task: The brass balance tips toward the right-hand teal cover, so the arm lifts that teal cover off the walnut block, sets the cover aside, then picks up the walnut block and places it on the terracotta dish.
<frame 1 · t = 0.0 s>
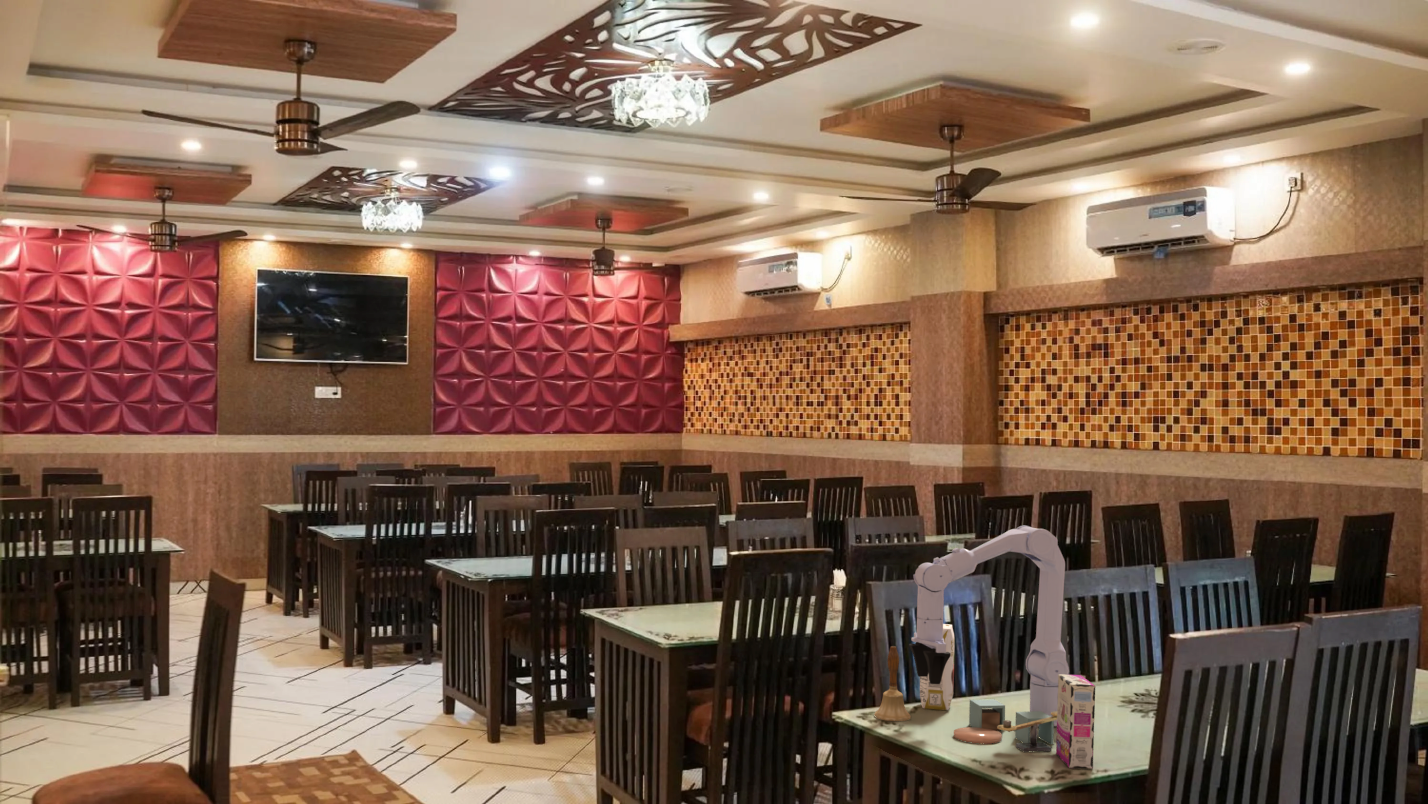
hand: (928, 679, 276), 10 cm above the table, tool pointing down, fingers open, 7 cm apart
teal cover A: (986, 727, 275), on the table
hand bell: (892, 717, 284), on the table
terracotta dish: (977, 737, 266), on the table
teal cover B: (1034, 741, 264), on the table
walnut block: (987, 729, 274), on the table
candy bar box: (1074, 762, 249), on the table
balance: (1033, 748, 258), on the table
juice carton: (936, 707, 295), on the table
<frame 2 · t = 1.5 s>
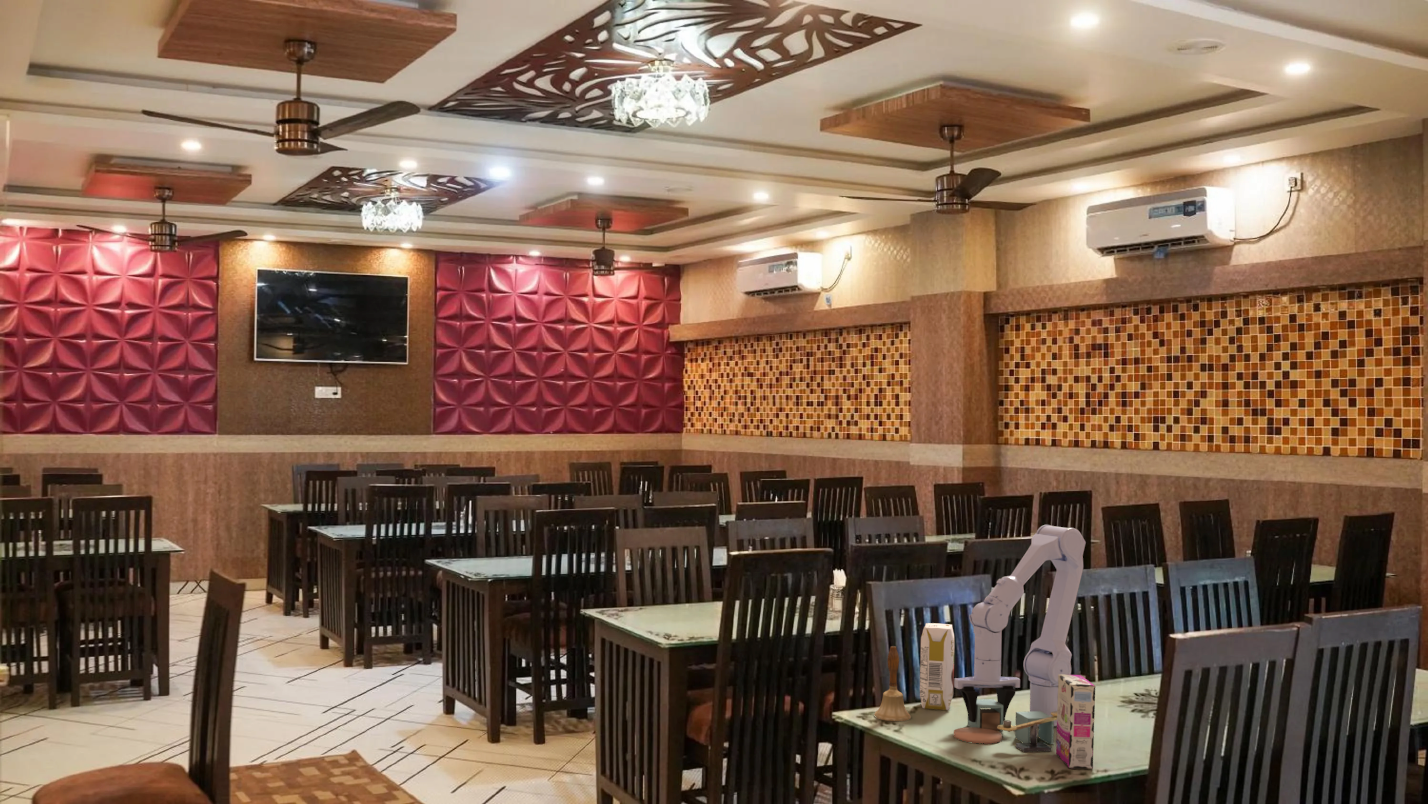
hand: (986, 720, 274), 2 cm above the table, tool pointing down, fingers closed on teal cover A, 6 cm apart
teal cover A: (985, 727, 275), on the table, touching gripper
everything else where it was.
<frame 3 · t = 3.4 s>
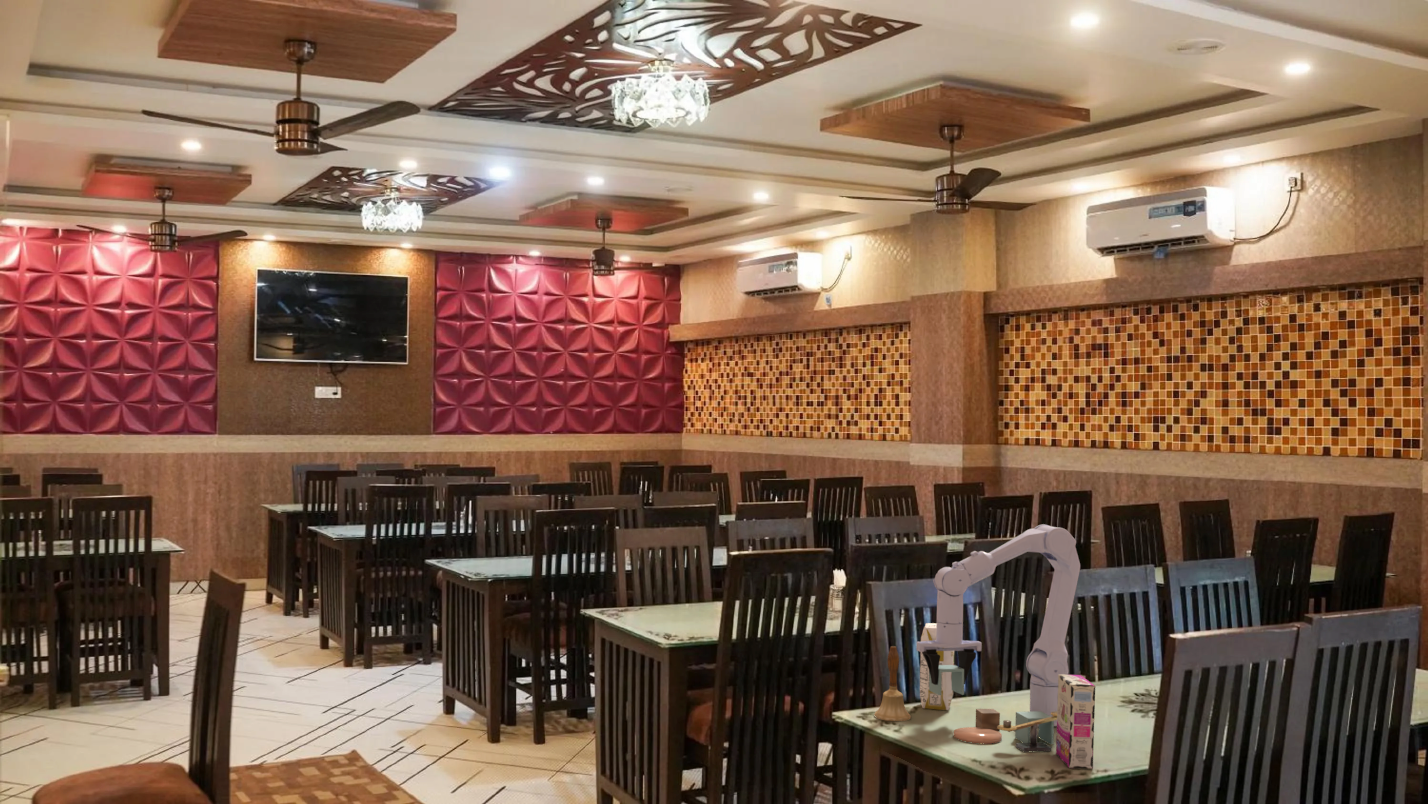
hand: (948, 683, 278), 9 cm above the table, tool pointing down, fingers closed on teal cover A, 6 cm apart
teal cover A: (946, 692, 279), point 7 cm above the table, touching gripper
everything else where it was.
when the fingers open (3 cm above the table, at t = 4.8 s): teal cover A drops 1 cm, on the table.
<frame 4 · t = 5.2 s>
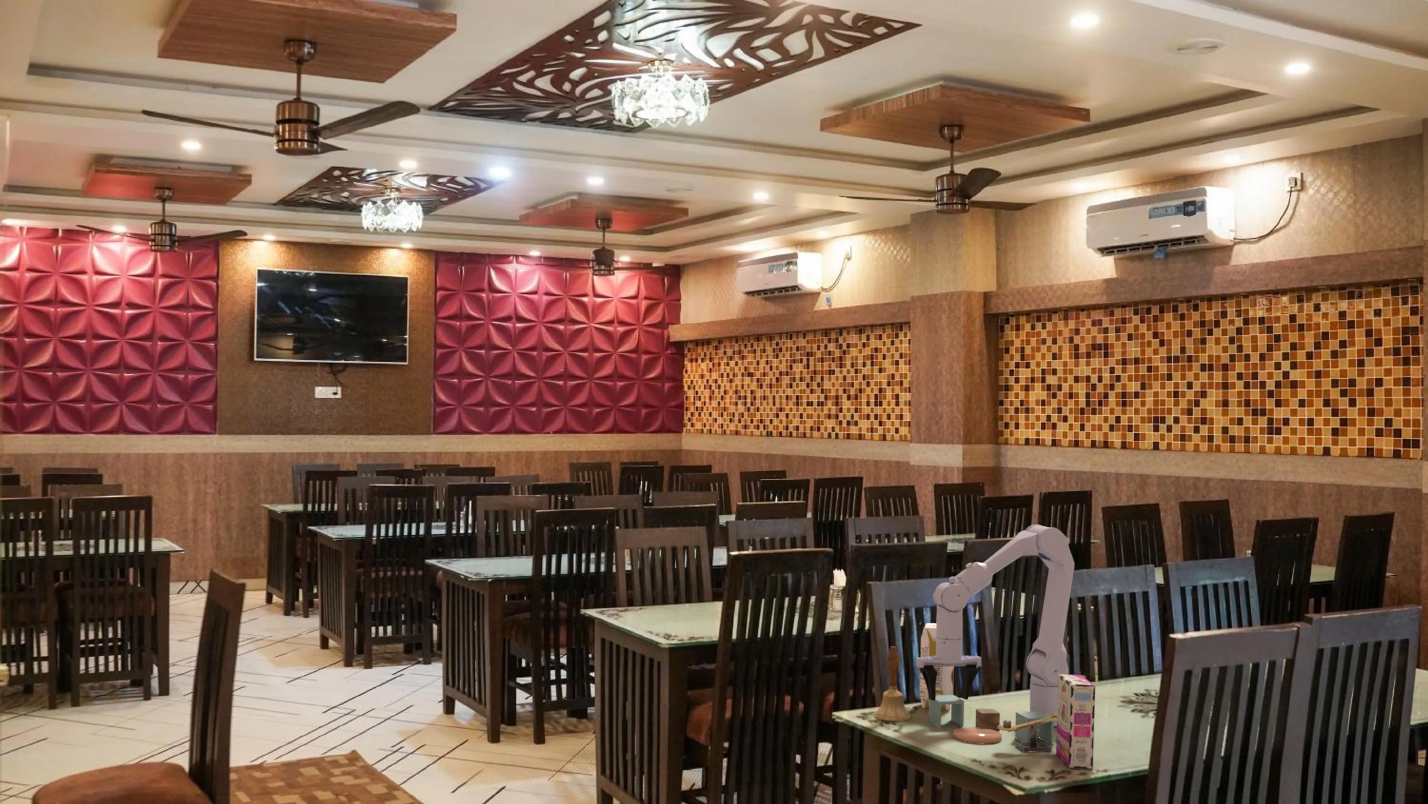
hand: (948, 698, 278), 6 cm above the table, tool pointing down, fingers open, 7 cm apart
teal cover A: (946, 723, 279), on the table
everything else where it was.
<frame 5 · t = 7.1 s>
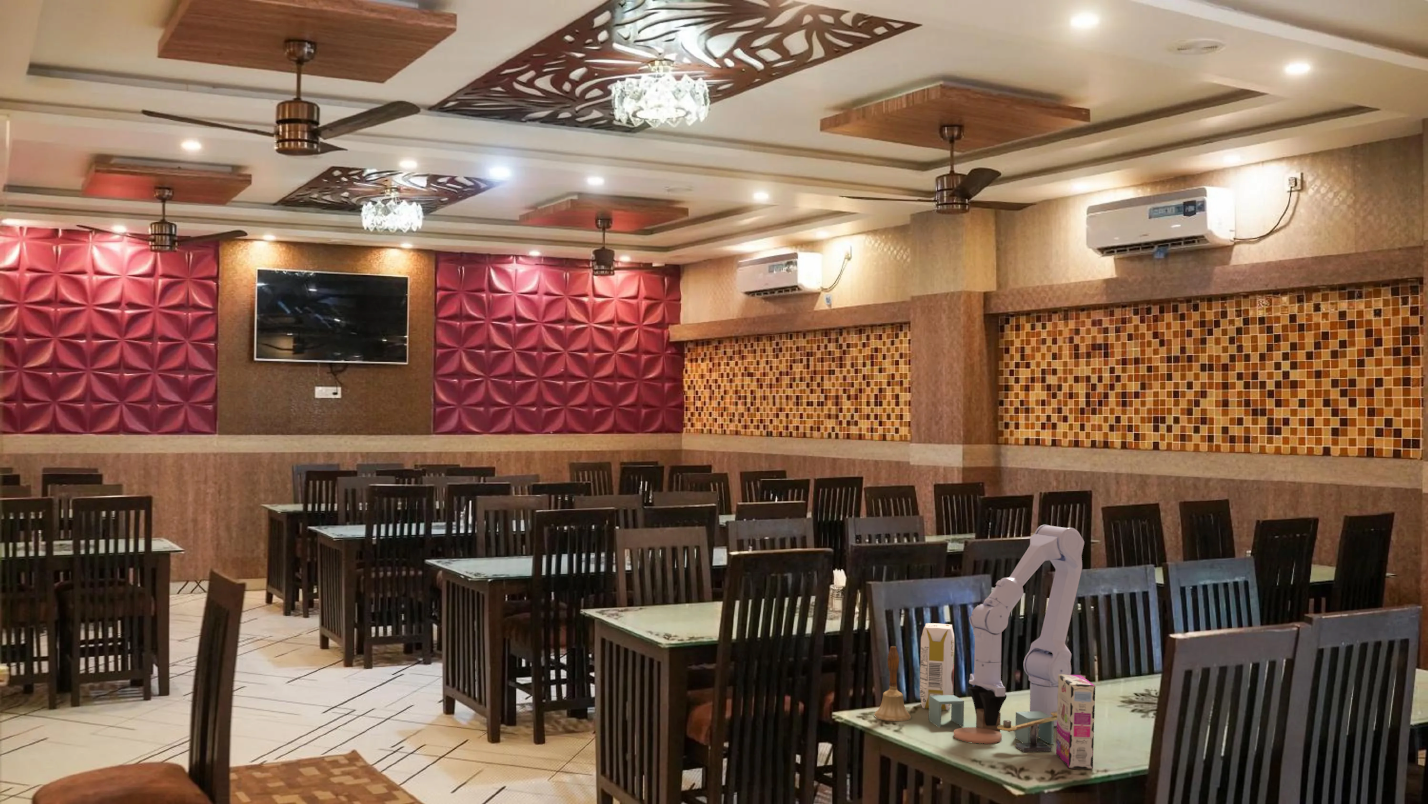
hand: (986, 722, 274), 1 cm above the table, tool pointing down, fingers closed on walnut block, 4 cm apart
walnut block: (988, 728, 274), on the table, touching gripper
everything else where it was.
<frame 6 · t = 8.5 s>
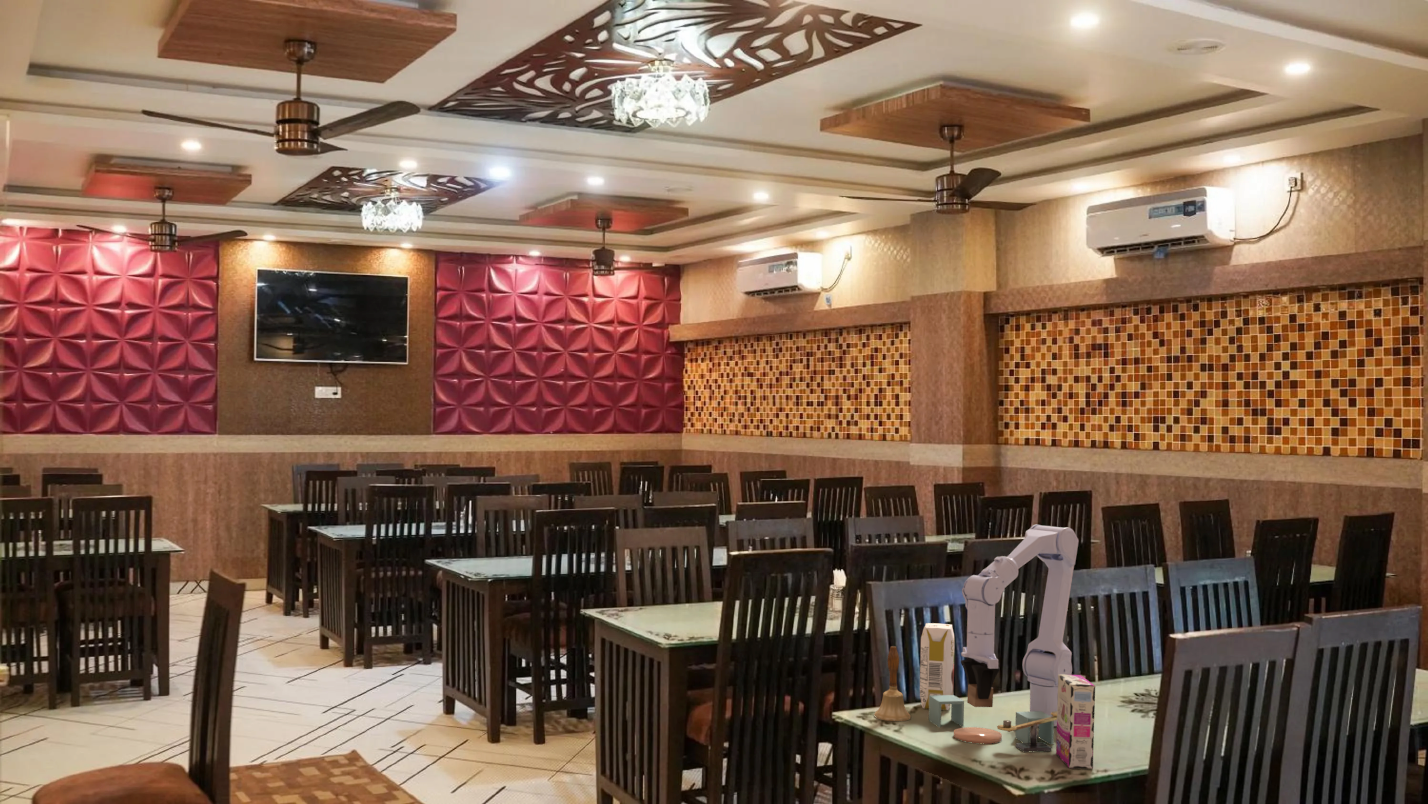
hand: (979, 696, 268), 9 cm above the table, tool pointing down, fingers closed on walnut block, 4 cm apart
walnut block: (979, 704, 268), point 7 cm above the table, touching gripper
everything else where it was.
when the fingers open (4 cm above the table, at t = 9.8 s): walnut block drops 1 cm, resting on terracotta dish.
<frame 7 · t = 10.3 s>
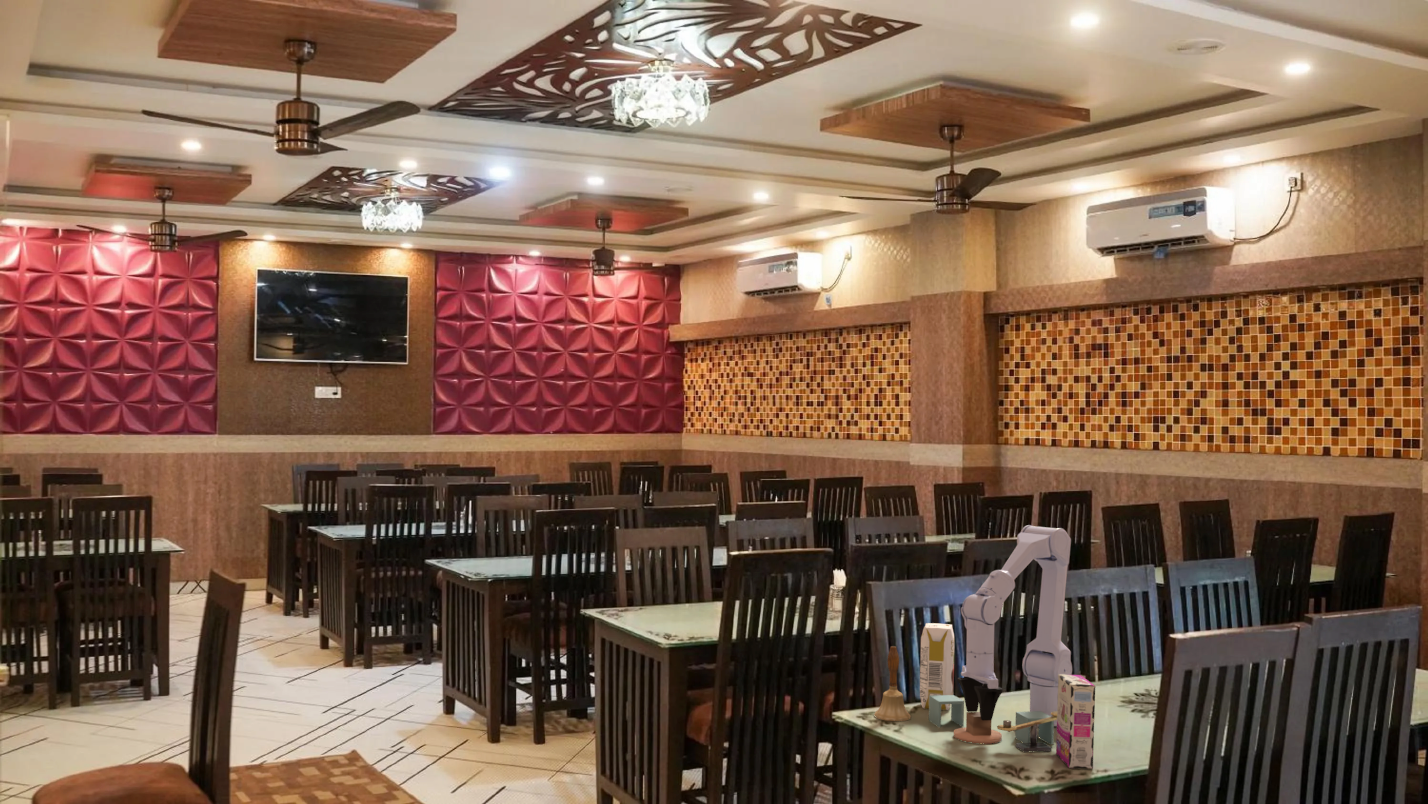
hand: (979, 715, 267), 5 cm above the table, tool pointing down, fingers open, 7 cm apart
walnut block: (978, 732, 266), point 1 cm above the table, touching terracotta dish
everything else where it was.
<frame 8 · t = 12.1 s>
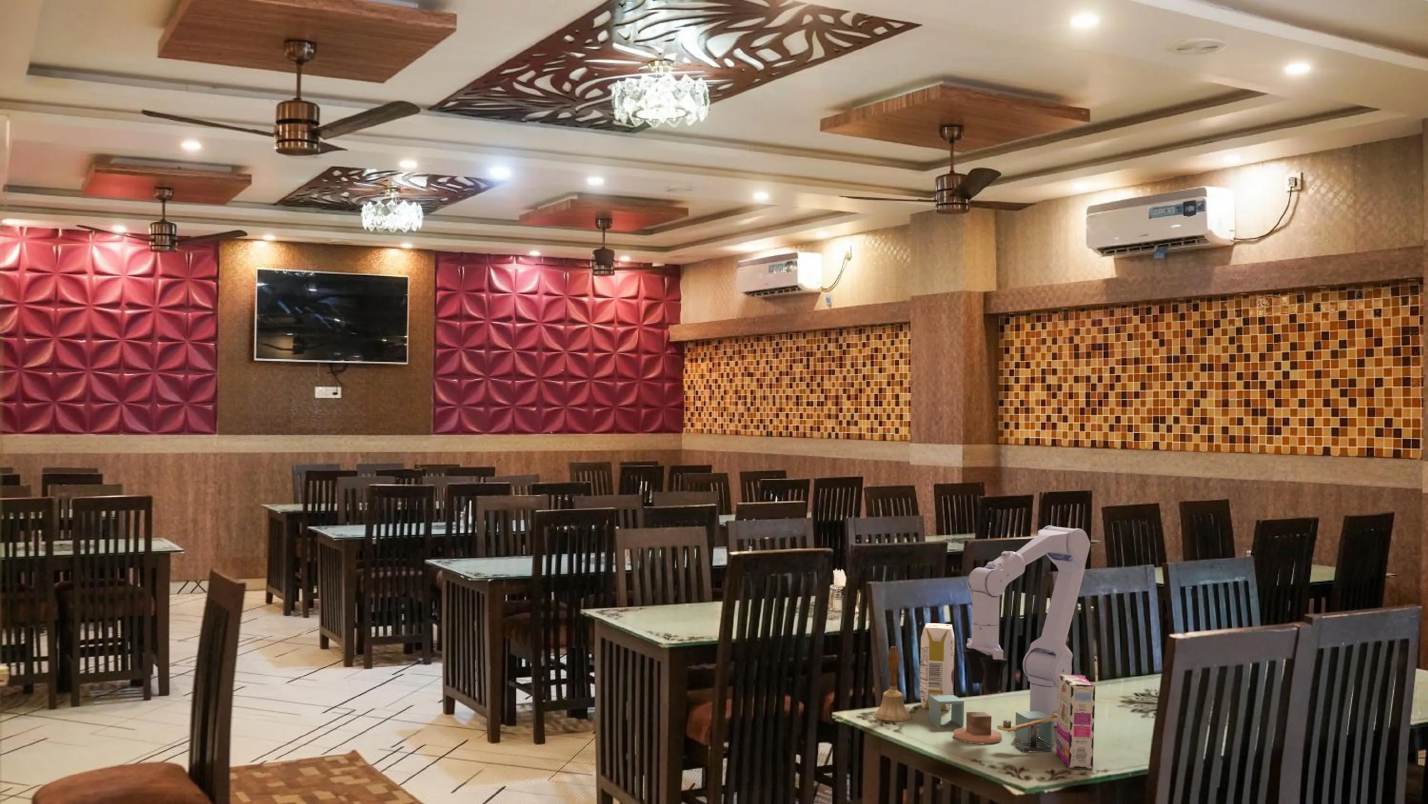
hand: (984, 686, 271), 10 cm above the table, tool pointing down, fingers open, 7 cm apart
nothing on the table moved.
at the end: walnut block 0.2 cm from the terracotta dish (horizontally); walnut block point 1.0 cm above the table; teal cover A moved 9.2 cm from its start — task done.
